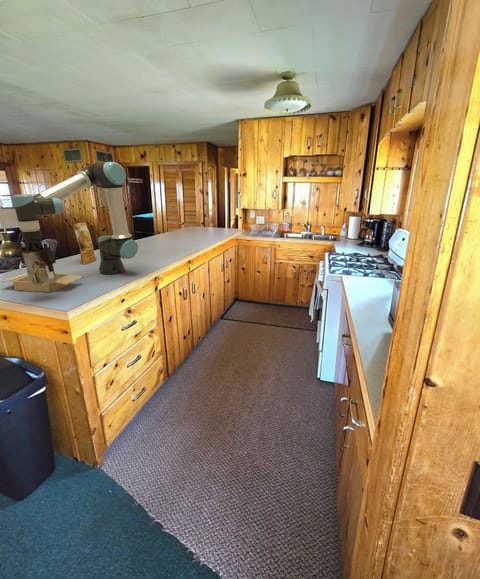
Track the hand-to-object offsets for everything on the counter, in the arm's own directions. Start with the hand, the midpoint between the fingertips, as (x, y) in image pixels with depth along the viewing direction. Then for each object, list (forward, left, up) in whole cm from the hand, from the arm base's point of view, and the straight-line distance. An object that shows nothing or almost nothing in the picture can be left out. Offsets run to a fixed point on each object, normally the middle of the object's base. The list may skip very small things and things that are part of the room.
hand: (42, 277), depth 141 cm
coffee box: (0, 0, -3) cm, 3 cm away
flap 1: (+24, -15, -5) cm, 29 cm away
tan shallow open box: (+13, -15, -10) cm, 23 cm away
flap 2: (+2, -15, -5) cm, 16 cm away
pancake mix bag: (+22, -71, -10) cm, 76 cm away
